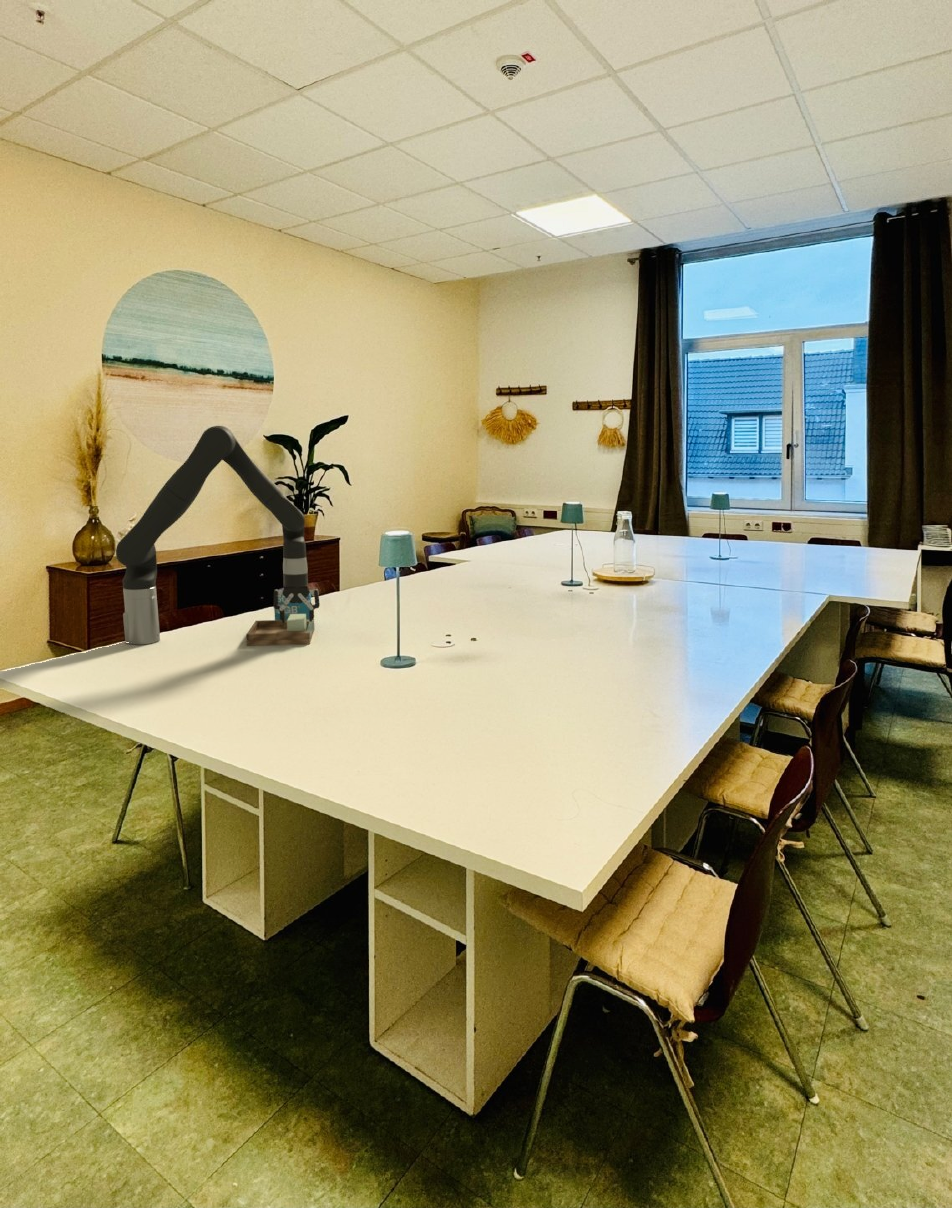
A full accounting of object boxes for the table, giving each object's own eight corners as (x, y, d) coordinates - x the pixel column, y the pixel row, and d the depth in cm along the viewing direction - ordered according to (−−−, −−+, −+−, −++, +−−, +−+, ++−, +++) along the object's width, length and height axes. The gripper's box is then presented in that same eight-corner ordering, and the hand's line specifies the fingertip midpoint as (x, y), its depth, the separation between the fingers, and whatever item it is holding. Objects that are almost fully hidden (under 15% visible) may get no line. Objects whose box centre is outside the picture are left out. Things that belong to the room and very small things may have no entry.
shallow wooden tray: (246, 645, 223) (246, 634, 222) (256, 630, 242) (255, 620, 242) (309, 644, 226) (309, 633, 225) (314, 629, 245) (314, 619, 245)
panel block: (287, 636, 229) (286, 620, 228) (291, 628, 239) (290, 614, 238) (303, 635, 230) (303, 620, 229) (306, 628, 240) (306, 613, 239)
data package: (275, 627, 248) (273, 592, 246) (276, 624, 252) (275, 590, 250) (310, 626, 250) (309, 592, 247) (312, 623, 254) (310, 589, 252)
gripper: (270, 573, 226) (273, 624, 229) (317, 573, 228) (319, 623, 231) (273, 570, 233) (276, 619, 236) (319, 569, 235) (320, 618, 239)
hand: (297, 621), depth 234 cm, fingers open, 8 cm apart
